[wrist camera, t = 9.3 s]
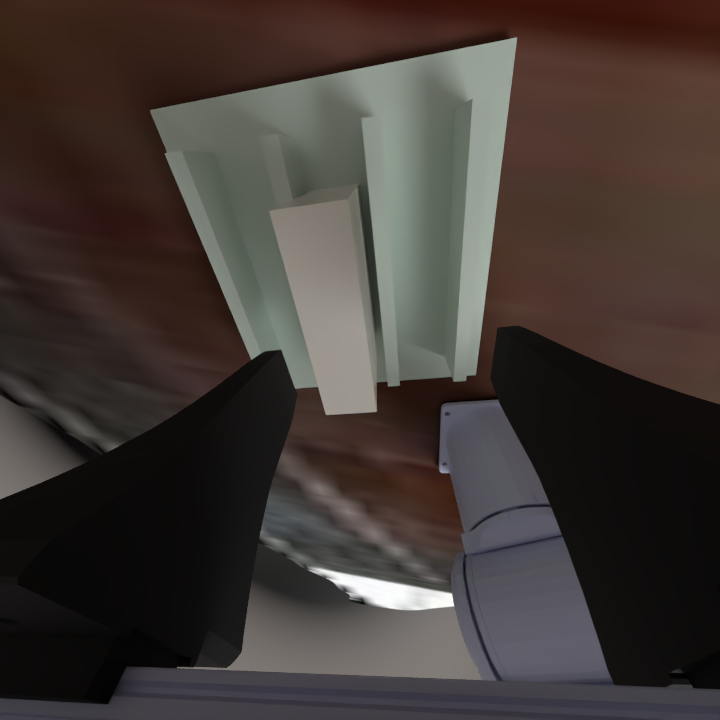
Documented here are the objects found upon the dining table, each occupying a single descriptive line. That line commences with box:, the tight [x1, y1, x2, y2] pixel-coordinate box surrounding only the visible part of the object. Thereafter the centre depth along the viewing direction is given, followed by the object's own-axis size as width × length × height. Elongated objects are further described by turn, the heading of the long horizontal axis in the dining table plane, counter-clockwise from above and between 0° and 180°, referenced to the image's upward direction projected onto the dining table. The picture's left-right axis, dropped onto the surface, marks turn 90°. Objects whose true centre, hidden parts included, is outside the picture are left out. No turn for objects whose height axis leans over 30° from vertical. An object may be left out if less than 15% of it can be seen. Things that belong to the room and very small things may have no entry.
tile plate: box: [269, 183, 377, 415], centre depth 15 cm, size 9×2×8 cm, turn 8°
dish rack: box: [150, 38, 517, 389], centre depth 17 cm, size 18×17×4 cm
